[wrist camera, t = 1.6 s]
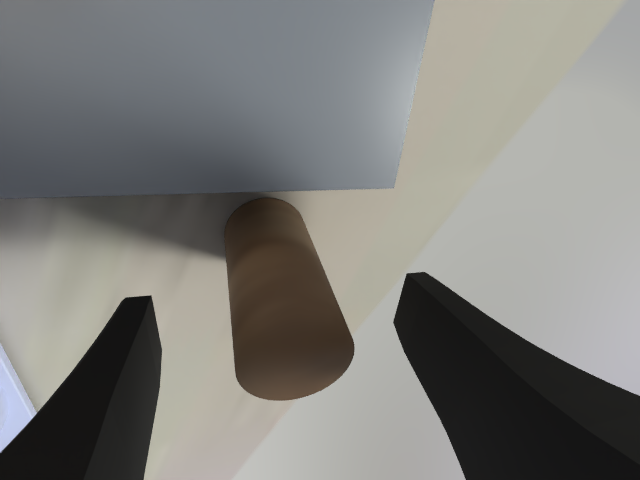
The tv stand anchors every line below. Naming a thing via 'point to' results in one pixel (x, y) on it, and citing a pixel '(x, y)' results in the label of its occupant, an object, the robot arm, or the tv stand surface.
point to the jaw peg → (281, 305)
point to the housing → (205, 95)
